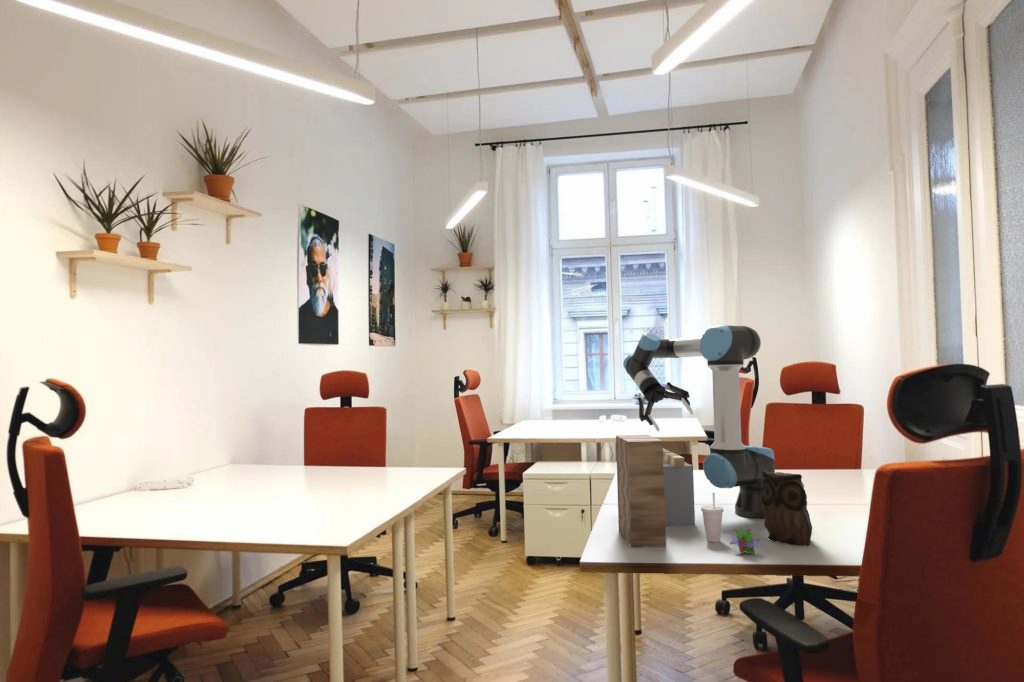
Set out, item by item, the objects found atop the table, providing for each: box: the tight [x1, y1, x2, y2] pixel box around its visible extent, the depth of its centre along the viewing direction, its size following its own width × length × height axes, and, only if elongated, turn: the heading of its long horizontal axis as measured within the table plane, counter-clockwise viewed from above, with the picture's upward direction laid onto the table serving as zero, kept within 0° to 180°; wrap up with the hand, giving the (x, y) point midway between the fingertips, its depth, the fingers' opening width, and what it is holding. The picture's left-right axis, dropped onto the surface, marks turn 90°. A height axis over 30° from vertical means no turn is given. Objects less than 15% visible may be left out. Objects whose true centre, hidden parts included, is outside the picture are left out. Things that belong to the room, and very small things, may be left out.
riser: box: [663, 461, 696, 526], centre depth 220 cm, size 14×10×19 cm
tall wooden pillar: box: [615, 434, 667, 548], centre depth 199 cm, size 18×10×30 cm, turn 2°
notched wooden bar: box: [663, 448, 686, 467], centre depth 225 cm, size 28×3×3 cm, turn 2°
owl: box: [762, 470, 813, 547], centre depth 193 cm, size 13×13×20 cm
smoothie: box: [700, 492, 724, 543], centre depth 194 cm, size 6×6×14 cm
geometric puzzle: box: [729, 527, 761, 556], centre depth 180 cm, size 7×7×8 cm
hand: (674, 420), depth 237 cm, fingers open, 13 cm apart
